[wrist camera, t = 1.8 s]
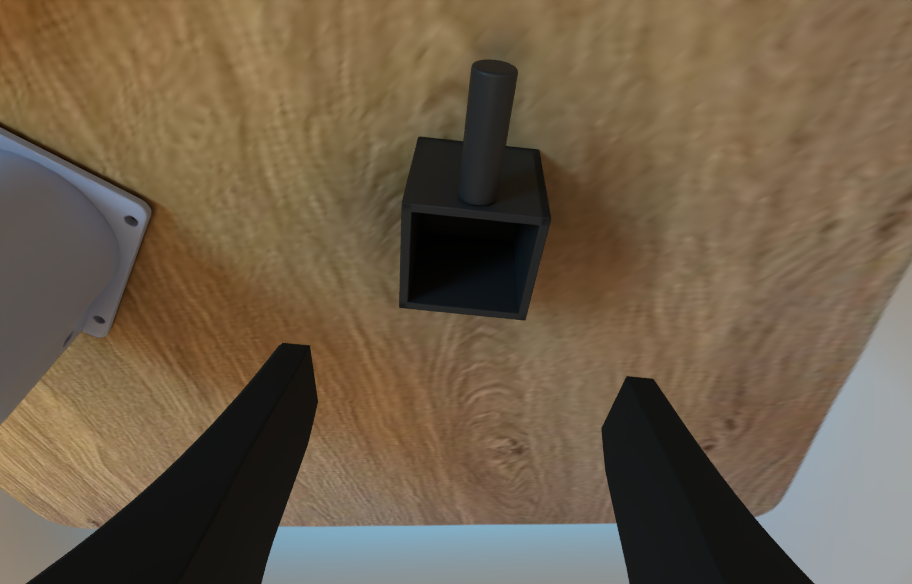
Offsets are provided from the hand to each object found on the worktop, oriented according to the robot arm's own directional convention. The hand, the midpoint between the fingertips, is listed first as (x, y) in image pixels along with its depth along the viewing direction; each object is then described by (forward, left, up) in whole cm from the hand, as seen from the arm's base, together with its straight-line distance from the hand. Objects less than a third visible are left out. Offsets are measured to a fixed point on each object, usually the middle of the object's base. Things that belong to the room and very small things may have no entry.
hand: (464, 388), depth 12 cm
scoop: (+1, +1, -10) cm, 10 cm away
